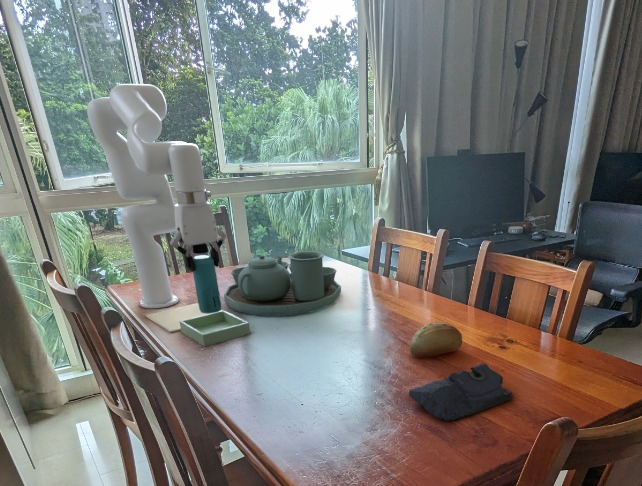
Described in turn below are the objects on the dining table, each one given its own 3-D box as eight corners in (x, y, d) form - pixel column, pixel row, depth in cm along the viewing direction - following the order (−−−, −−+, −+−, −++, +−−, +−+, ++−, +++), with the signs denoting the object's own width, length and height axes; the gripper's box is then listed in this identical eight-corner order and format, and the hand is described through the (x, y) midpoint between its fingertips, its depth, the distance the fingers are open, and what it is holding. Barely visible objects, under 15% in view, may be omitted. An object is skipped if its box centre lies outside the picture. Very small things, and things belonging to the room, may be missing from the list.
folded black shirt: (398, 397, 114) (398, 378, 111) (470, 373, 124) (472, 354, 121) (443, 426, 102) (445, 406, 100) (519, 397, 113) (522, 377, 110)
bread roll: (470, 354, 133) (473, 325, 129) (420, 365, 128) (422, 335, 124) (450, 342, 141) (453, 314, 136) (402, 351, 136) (403, 322, 131)
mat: (145, 316, 165) (145, 315, 164) (203, 303, 175) (202, 301, 175) (171, 333, 151) (170, 331, 151) (231, 317, 162) (230, 315, 162)
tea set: (349, 284, 192) (348, 238, 183) (325, 320, 158) (322, 265, 150) (249, 281, 198) (243, 237, 189) (205, 315, 164) (196, 263, 156)
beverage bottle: (217, 319, 145) (205, 247, 135) (195, 318, 147) (182, 246, 136) (226, 311, 151) (216, 241, 140) (205, 310, 152) (194, 240, 141)
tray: (181, 331, 152) (179, 321, 150) (225, 320, 160) (223, 310, 158) (204, 346, 142) (202, 335, 140) (250, 333, 150) (249, 322, 148)
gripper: (215, 193, 139) (225, 260, 149) (153, 200, 130) (168, 270, 139) (229, 196, 134) (238, 265, 144) (165, 203, 125) (179, 276, 134)
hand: (203, 267), depth 141 cm, fingers closed on beverage bottle, 6 cm apart
